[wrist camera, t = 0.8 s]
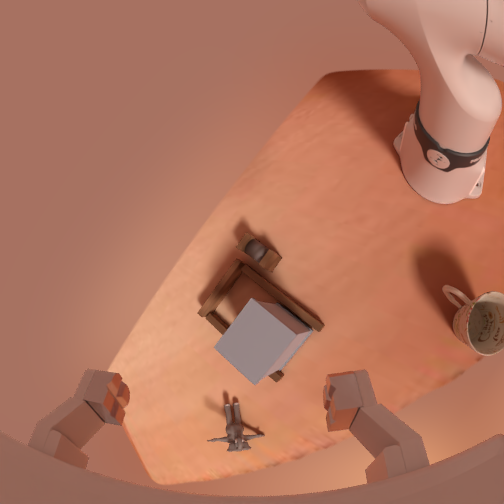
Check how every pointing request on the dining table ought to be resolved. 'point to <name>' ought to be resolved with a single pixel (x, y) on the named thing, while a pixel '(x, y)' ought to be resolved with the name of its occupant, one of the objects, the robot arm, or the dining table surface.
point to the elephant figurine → (235, 431)
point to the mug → (479, 320)
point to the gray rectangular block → (262, 339)
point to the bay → (268, 262)
